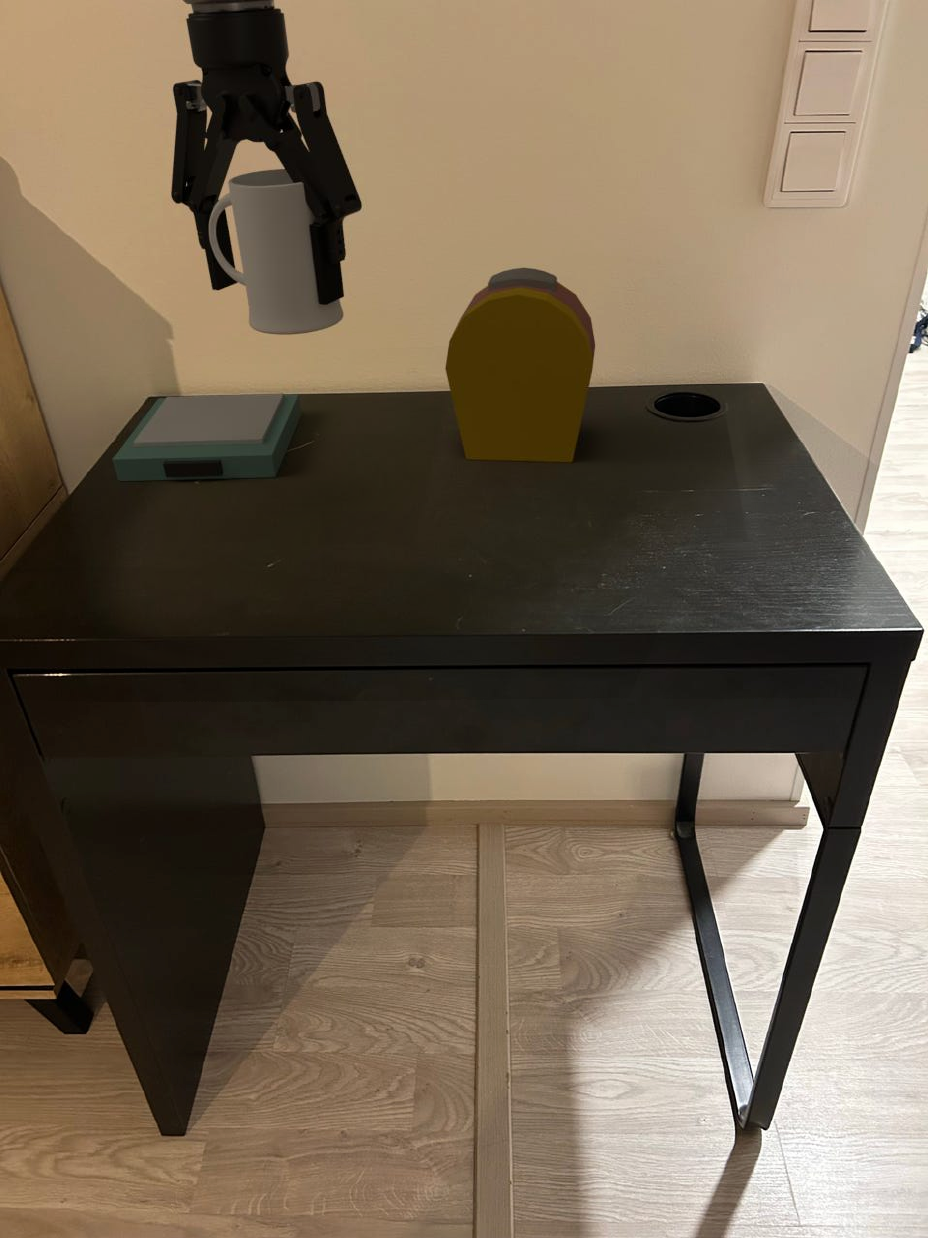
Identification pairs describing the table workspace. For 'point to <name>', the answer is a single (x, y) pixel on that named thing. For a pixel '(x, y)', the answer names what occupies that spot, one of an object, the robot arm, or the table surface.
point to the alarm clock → (521, 369)
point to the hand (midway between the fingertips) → (277, 293)
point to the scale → (210, 438)
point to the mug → (274, 253)
